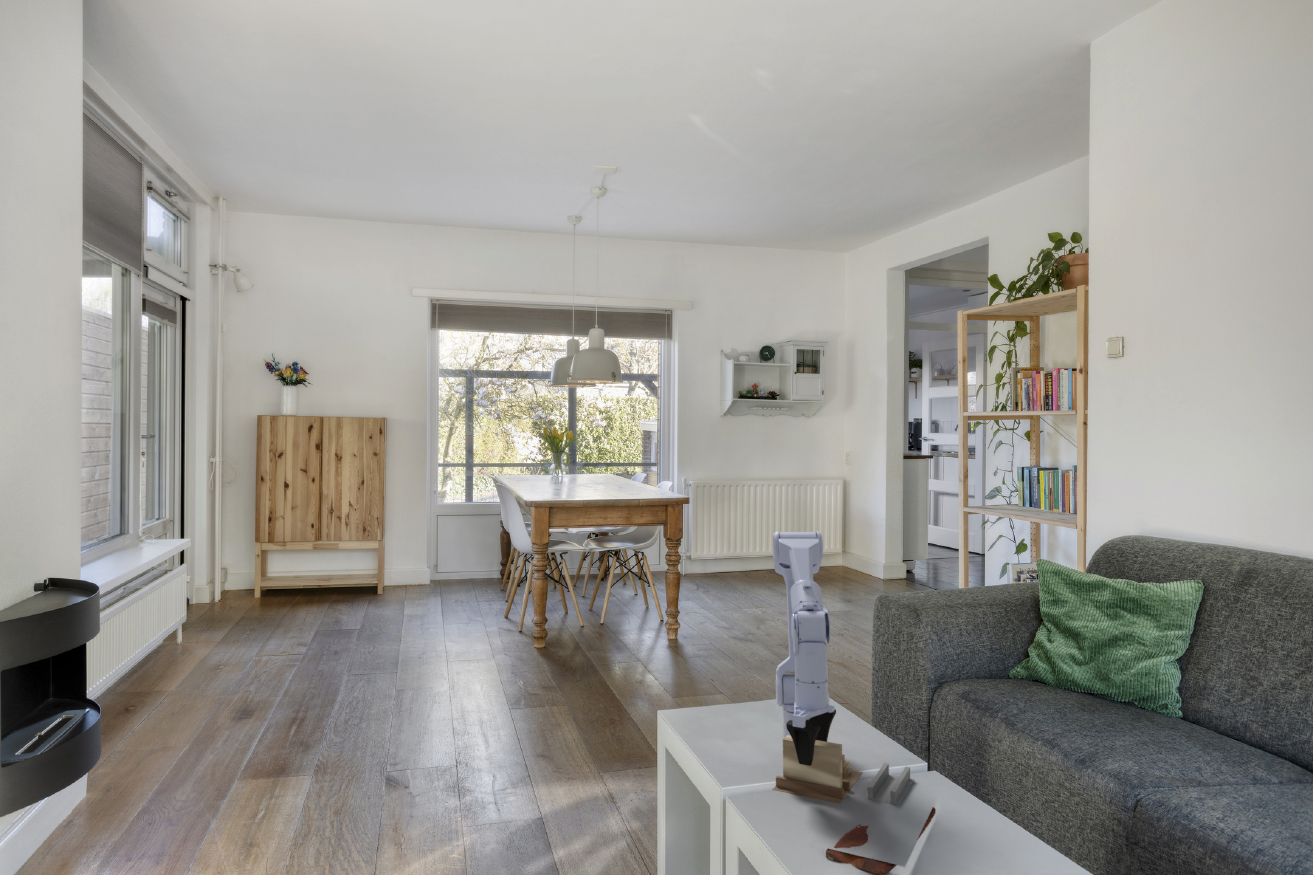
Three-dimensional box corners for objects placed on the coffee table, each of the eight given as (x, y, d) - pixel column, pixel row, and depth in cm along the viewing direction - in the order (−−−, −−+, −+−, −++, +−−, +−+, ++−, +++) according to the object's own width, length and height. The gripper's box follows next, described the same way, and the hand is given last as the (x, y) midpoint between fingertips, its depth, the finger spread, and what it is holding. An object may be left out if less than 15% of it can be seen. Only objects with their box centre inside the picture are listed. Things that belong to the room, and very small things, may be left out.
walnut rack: (800, 765, 154) (800, 752, 154) (863, 777, 148) (862, 763, 148) (772, 794, 141) (772, 780, 141) (839, 808, 135) (839, 793, 135)
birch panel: (787, 779, 145) (787, 735, 145) (842, 790, 140) (841, 744, 140) (783, 784, 143) (782, 739, 143) (838, 795, 138) (838, 748, 138)
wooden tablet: (887, 882, 113) (886, 870, 113) (821, 861, 119) (821, 850, 119) (945, 813, 134) (945, 803, 134) (887, 798, 140) (887, 789, 140)
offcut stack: (808, 764, 152) (808, 748, 152) (850, 771, 148) (850, 755, 148) (802, 770, 149) (802, 754, 149) (845, 778, 145) (845, 761, 145)
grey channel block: (880, 778, 147) (880, 762, 147) (914, 784, 144) (914, 767, 144) (863, 803, 137) (863, 785, 137) (899, 810, 134) (899, 792, 134)
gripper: (820, 692, 133) (821, 775, 133) (845, 672, 146) (846, 747, 146) (780, 687, 137) (781, 767, 136) (807, 667, 149) (808, 741, 149)
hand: (812, 756), depth 141 cm, fingers open, 7 cm apart
